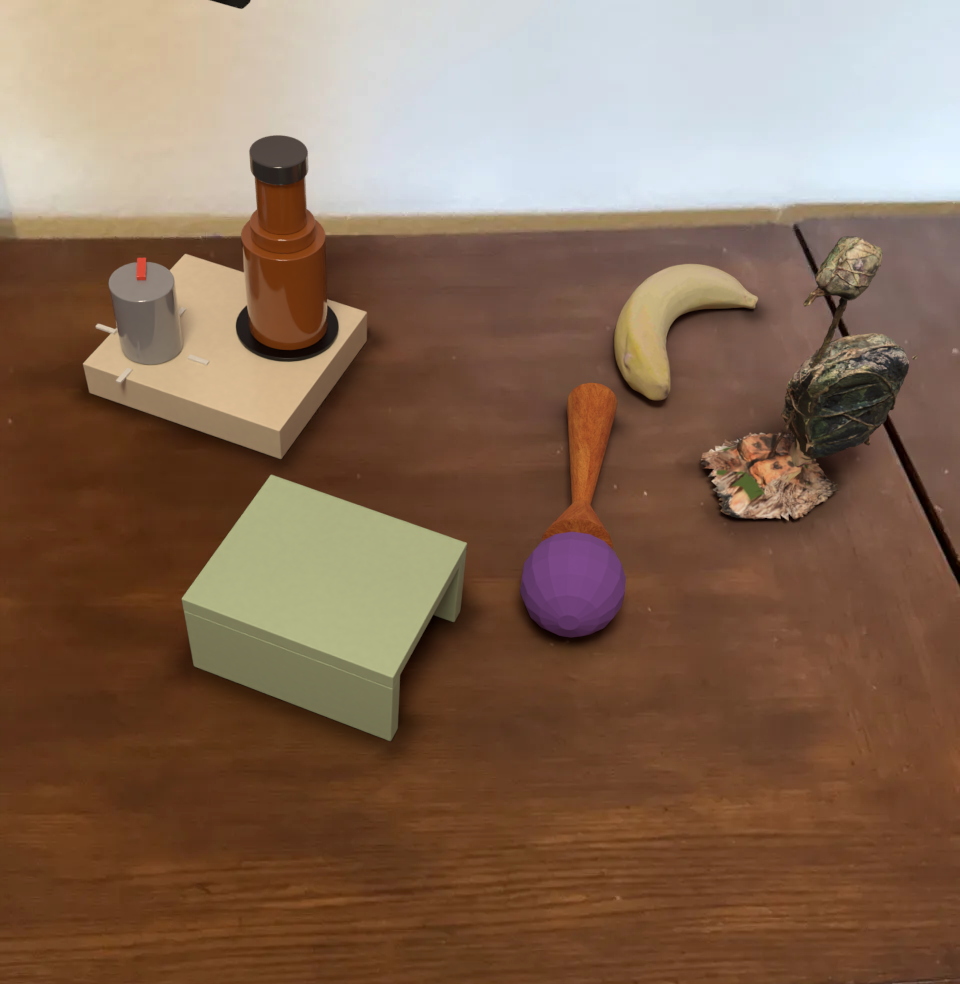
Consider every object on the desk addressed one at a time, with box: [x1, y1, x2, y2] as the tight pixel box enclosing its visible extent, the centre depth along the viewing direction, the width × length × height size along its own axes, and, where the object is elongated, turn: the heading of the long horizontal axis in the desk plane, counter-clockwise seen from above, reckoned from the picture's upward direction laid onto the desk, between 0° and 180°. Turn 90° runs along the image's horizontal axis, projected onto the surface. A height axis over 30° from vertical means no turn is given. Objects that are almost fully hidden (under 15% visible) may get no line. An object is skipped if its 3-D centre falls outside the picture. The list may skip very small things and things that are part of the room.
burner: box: [236, 305, 339, 362], centre depth 84 cm, size 7×7×1 cm
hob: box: [82, 253, 368, 460], centre depth 84 cm, size 15×14×3 cm
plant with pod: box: [699, 235, 918, 522], centre depth 74 cm, size 8×11×20 cm
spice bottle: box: [240, 134, 328, 350], centre depth 78 cm, size 5×5×13 cm
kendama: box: [519, 382, 627, 638], centre depth 76 cm, size 6×6×20 cm
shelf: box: [181, 474, 468, 742], centre depth 69 cm, size 12×10×6 cm
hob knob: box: [107, 257, 183, 365], centre depth 80 cm, size 4×4×5 cm
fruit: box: [613, 263, 759, 401], centre depth 89 cm, size 7×15×3 cm, turn 146°
